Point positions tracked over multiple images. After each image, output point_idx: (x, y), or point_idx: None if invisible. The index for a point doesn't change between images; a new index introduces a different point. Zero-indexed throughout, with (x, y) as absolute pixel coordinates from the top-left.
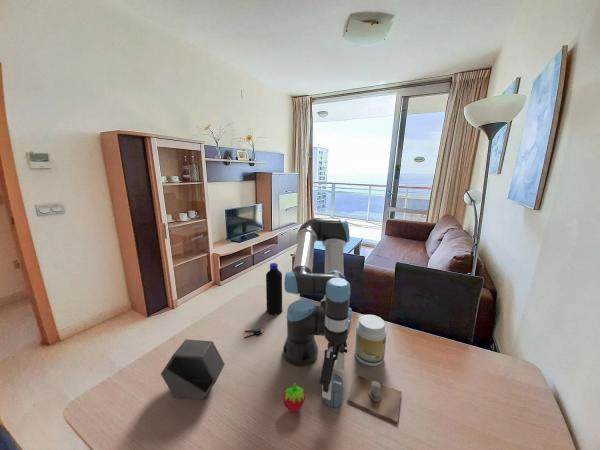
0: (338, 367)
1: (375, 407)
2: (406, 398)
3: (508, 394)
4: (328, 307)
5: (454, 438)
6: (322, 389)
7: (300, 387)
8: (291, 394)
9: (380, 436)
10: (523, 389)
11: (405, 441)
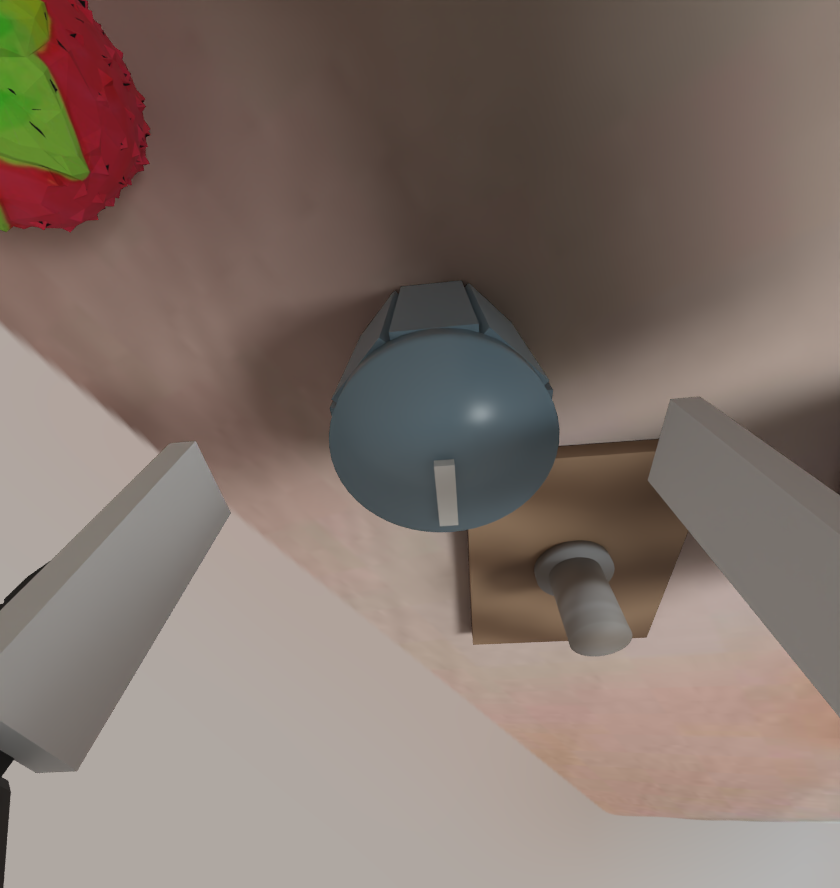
0: (670, 436)
1: (496, 581)
2: None
3: (736, 785)
4: None
5: (514, 722)
6: (101, 514)
7: (19, 55)
8: None
9: (380, 601)
10: (765, 800)
11: (419, 652)
